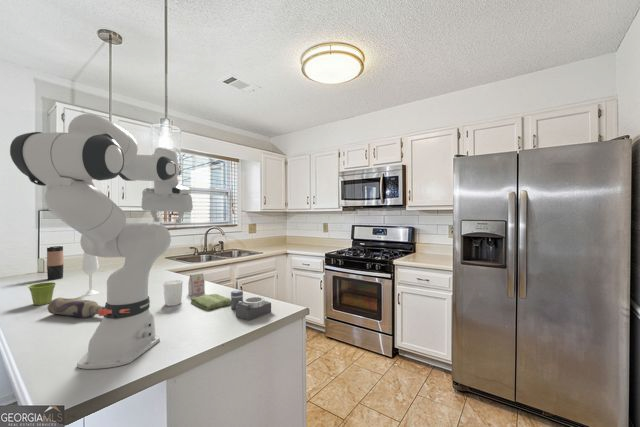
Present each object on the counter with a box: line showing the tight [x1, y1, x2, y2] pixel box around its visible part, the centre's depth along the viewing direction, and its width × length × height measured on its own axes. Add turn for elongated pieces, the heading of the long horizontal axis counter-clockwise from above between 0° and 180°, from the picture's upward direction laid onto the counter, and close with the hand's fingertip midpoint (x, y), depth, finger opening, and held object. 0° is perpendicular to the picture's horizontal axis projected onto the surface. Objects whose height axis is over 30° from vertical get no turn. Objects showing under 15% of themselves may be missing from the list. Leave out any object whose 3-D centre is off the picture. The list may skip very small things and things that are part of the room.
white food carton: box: [187, 272, 206, 296], centre depth 150 cm, size 4×7×10 cm, turn 138°
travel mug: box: [46, 245, 64, 281], centre depth 182 cm, size 8×8×20 cm
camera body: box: [235, 296, 272, 322], centre depth 120 cm, size 12×8×6 cm
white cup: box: [162, 279, 183, 307], centre depth 133 cm, size 8×8×10 cm
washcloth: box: [190, 293, 231, 311], centre depth 134 cm, size 13×18×3 cm
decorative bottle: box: [47, 297, 105, 319], centre depth 118 cm, size 26×8×7 cm, turn 78°
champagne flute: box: [81, 251, 100, 297], centre depth 149 cm, size 7×7×24 cm
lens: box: [230, 290, 244, 311], centre depth 128 cm, size 5×5×7 cm
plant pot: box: [27, 281, 57, 306], centre depth 134 cm, size 9×9×9 cm
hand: (167, 222), depth 120 cm, fingers open, 8 cm apart
